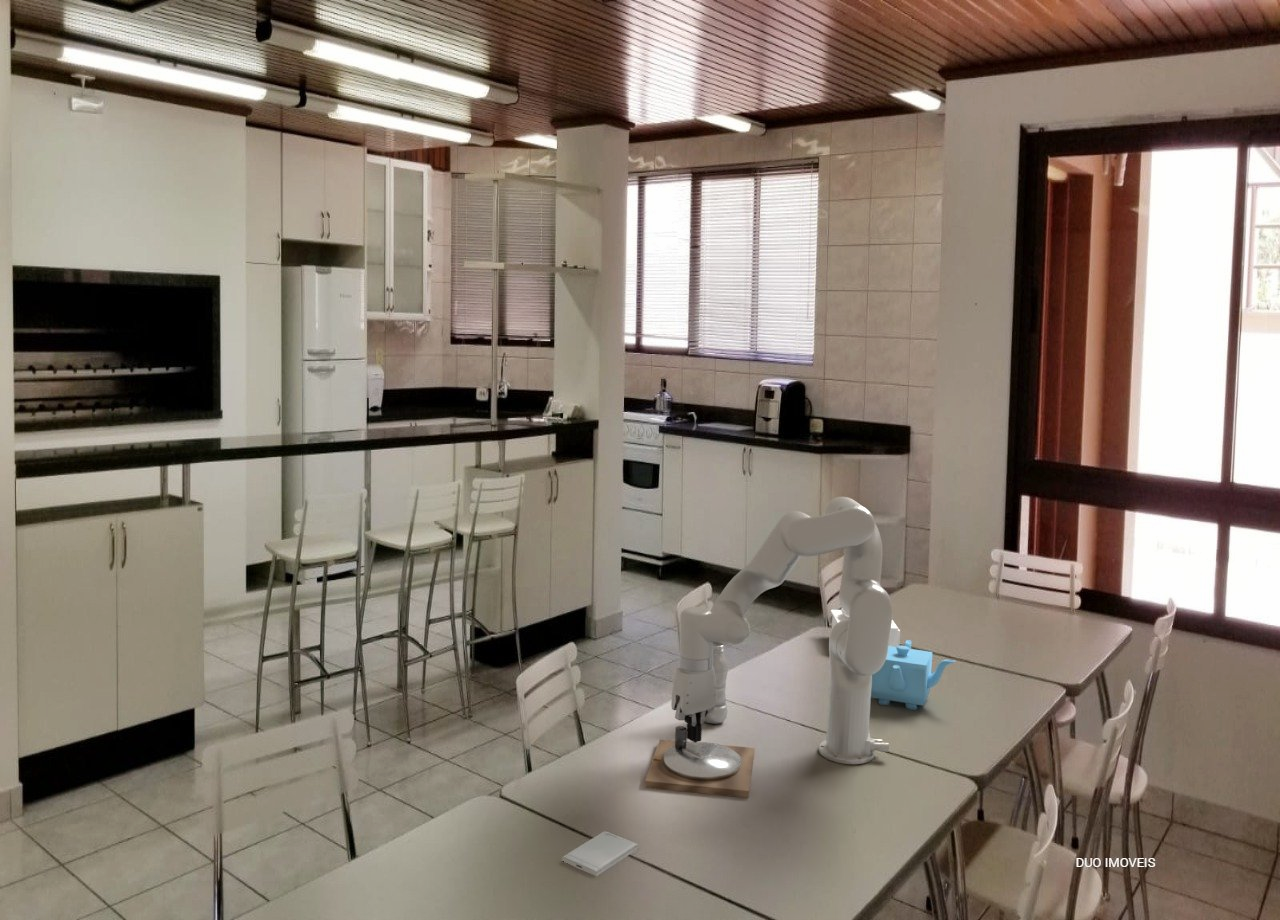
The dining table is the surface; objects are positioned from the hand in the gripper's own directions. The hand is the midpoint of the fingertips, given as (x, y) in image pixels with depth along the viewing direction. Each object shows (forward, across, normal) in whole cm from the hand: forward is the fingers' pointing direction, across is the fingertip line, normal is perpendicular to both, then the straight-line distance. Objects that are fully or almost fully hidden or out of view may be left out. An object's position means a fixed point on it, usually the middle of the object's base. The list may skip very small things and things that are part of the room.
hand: (694, 739), depth 238 cm
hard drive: (+4, +43, +23) cm, 49 cm away
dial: (+2, +3, +7) cm, 8 cm away
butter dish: (+5, -95, -31) cm, 100 cm away
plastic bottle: (+4, -17, -12) cm, 22 cm away
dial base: (+4, +3, +7) cm, 8 cm away
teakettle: (+5, -68, +5) cm, 68 cm away
